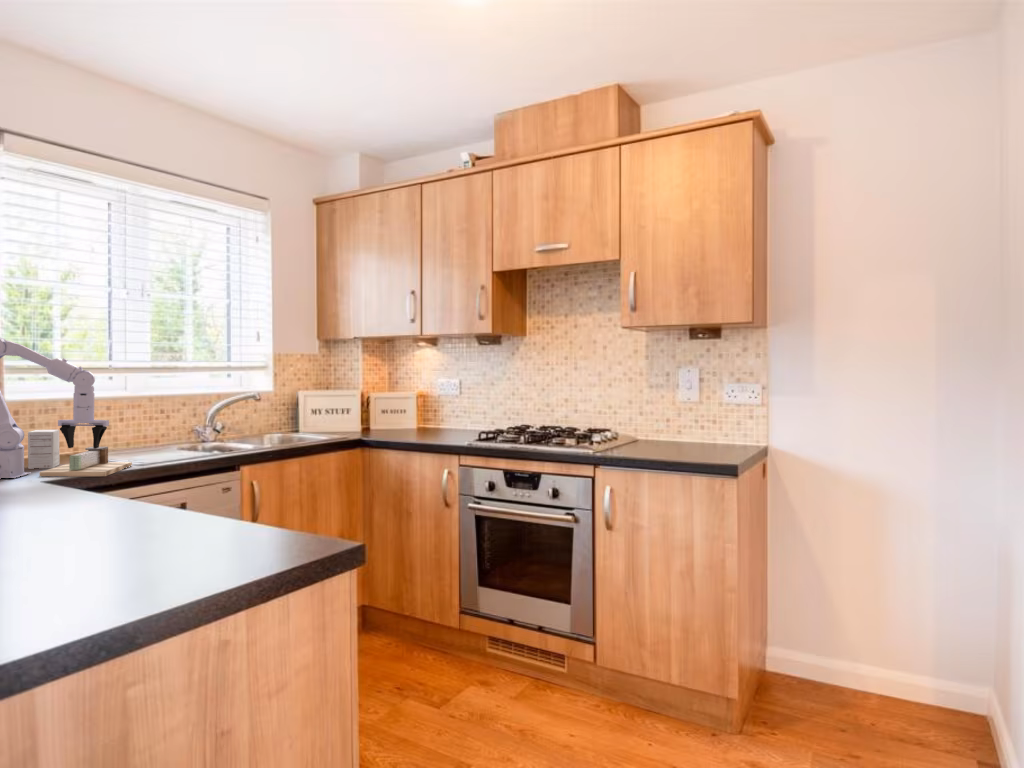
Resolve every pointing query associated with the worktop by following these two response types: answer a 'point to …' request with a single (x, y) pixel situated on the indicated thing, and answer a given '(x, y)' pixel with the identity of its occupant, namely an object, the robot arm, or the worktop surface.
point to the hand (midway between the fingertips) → (83, 447)
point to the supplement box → (43, 449)
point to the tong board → (90, 467)
